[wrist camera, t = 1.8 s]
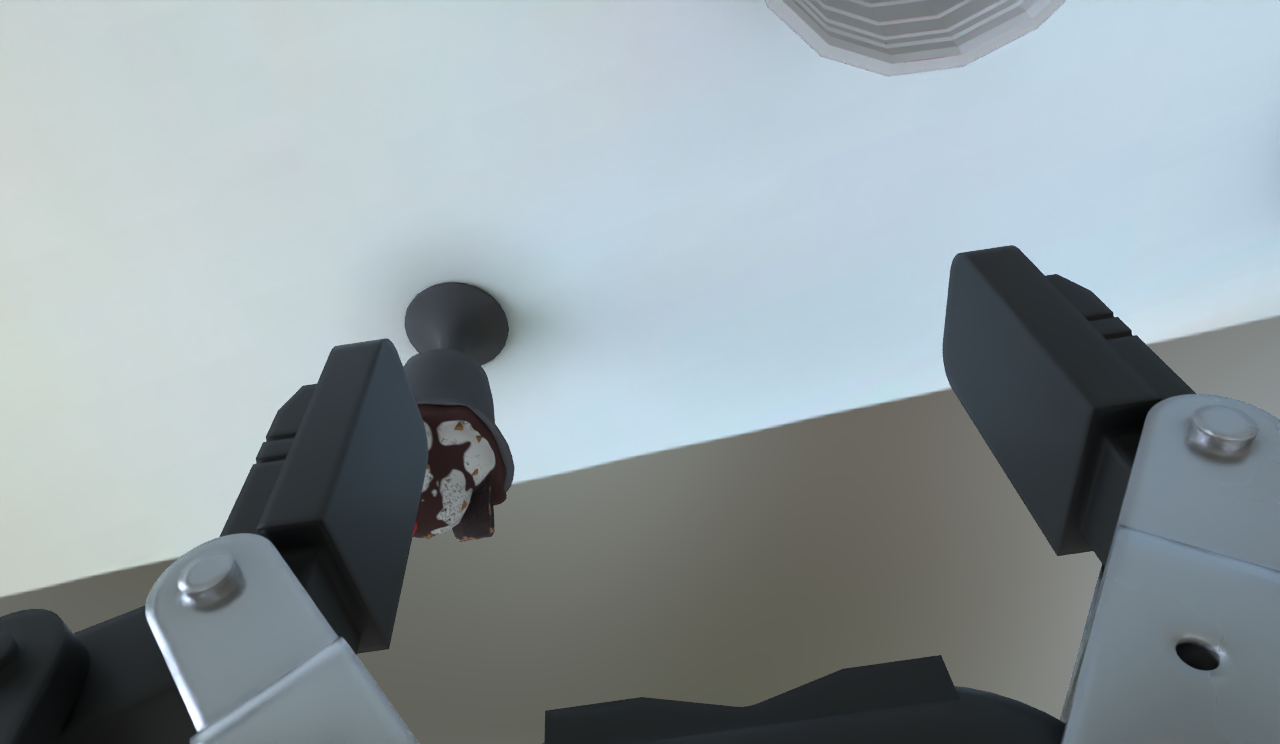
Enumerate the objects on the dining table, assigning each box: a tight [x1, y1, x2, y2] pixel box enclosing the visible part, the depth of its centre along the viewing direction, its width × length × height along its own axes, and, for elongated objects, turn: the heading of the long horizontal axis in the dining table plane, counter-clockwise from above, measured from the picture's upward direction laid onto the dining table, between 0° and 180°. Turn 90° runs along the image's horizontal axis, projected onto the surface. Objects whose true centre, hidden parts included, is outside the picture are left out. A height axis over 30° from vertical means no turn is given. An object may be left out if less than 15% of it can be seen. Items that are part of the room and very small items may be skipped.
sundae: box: [403, 283, 514, 542], centre depth 34 cm, size 7×7×15 cm
